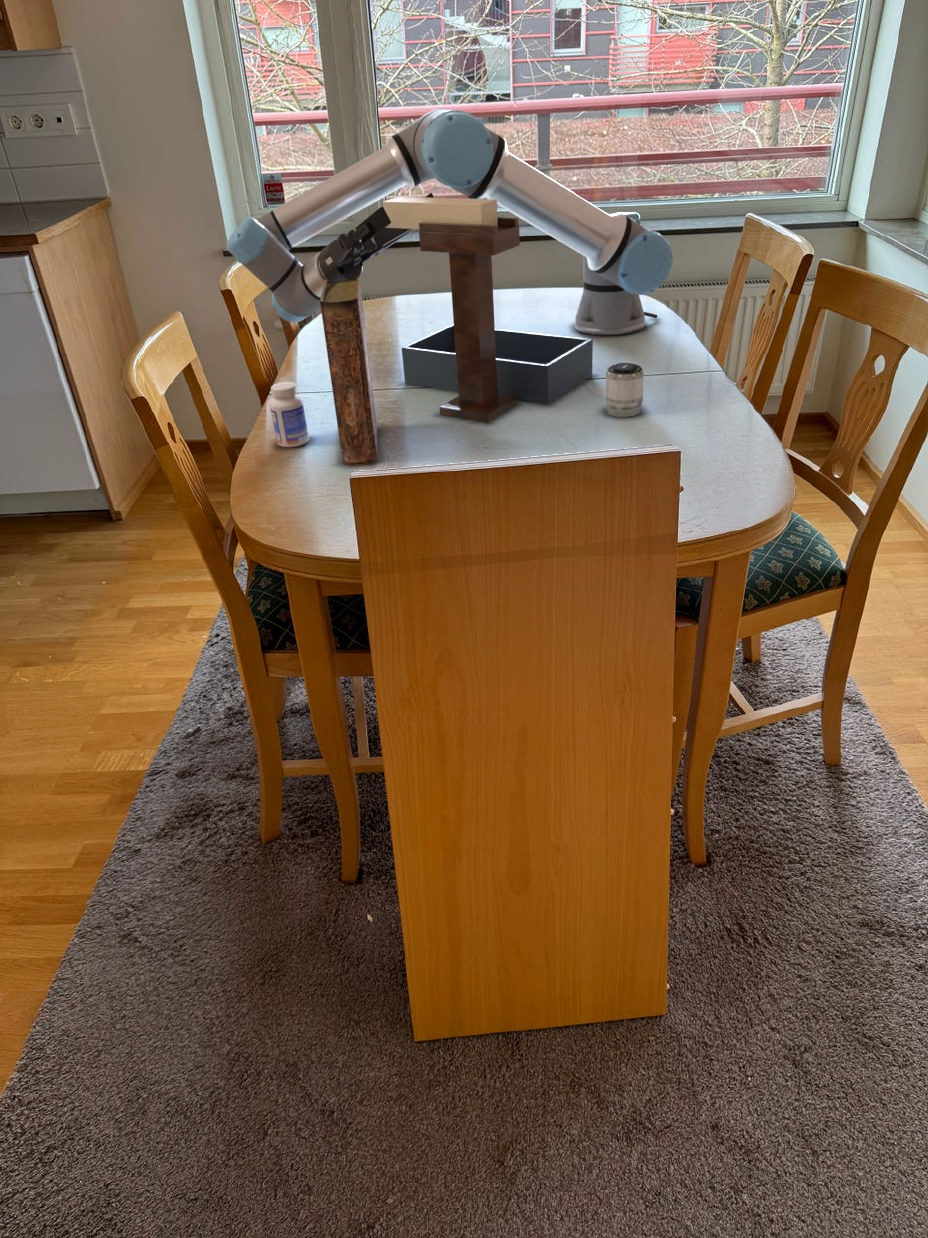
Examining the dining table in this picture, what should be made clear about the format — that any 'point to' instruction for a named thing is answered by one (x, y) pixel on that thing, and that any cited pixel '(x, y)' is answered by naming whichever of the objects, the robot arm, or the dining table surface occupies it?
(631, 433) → the dining table surface
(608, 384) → the camera lens
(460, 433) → the dining table surface
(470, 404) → the stand
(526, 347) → the bin
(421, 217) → the carton
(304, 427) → the pill bottle
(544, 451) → the dining table surface
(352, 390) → the book
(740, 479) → the dining table surface
